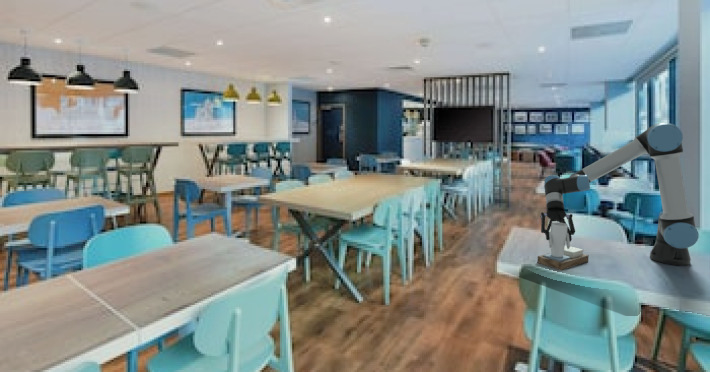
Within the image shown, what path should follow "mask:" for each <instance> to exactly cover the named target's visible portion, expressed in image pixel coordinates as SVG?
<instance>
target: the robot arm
mask: <svg viewBox="0 0 710 372" xmlns="http://www.w3.org/2000/svg"><path fill="white" fill-rule="evenodd" d="M683 139H684V135H683V131H682V130H681V129H680V127H679V126H677V125H675V124H674V123H669V122H663V123H661V122H660V123H656V124H654V125H651V126H650V127H649V128H647V129H646V130H645V131H643V132H642V133H640V134H638V135H636V136H635V137H634V138H633V140H632V141H631V142H629V143H627V144H624V145H623V146H621V147H619V148H618V149H616V150H614V151H612V152H611V153H609V154H608V155H605V156H603V157H602V158H600V159H598V160H595V162H593V163H591V164H590V165H587V166H585V167H584V168H582V169H580V170H578V171H576V172H574V173H572V174H571V175H569V176H568V177H564V178H560V176H559V175H556V174H555V175H554V174H550V175H548V176H546V177H545V178H544V183H543V185H544V186H543V187H544V194H545V195H544V196H545V204H546V205H545V206H546V212H543V211H542V212H541V213H540V219H541V224H540V225H541V228H540V233H542V234H545V240H546V241H548V247H549V248H550V249H551V247H552V237H551V223H553V222H560V223H565V224H567V223H568V229H567V237H566V243H565V246H566V245H567V249H569V248H570V246H571V242H572V240H573V237H572V236H574V235H575V233H576V229H575V225H574V221H573V214H572V213H570V214H568V213H566V212H565V210H566V209H565V204H564V197H563V195H566V194H572V193H579V192H586V191H590V189H591V186H590V183H592V182H593V181H596V180H598V179H599V178H600V177H603V176H605V175H607V174H608V173H611V172H612V171H614V170H616V169H618V168H620V167H623V165H626V164H627V163H629V162H631V161H633V160H635V159H637V158H639V157H640V156H643V155H649V157H650V158H651V159H653V161H654V163H655V170H656V176H657V182H658V188H659V195H660V200H661V207H662V211H660V212H659V215H658V223H657V231H656V239H655V243H654V245H653V247H652V249H651V251H650V253H649V258H650V260H653V261H655V262H659V263H662V264H665V265H666V264H667V265H672V266H689V265H690V264H691V261H692V259H691V255H690V251H689V248H690V247H693V246H694V245H695V244H697V242H698V240H699V237H700V236H699V231H698V229H697V228H696V222H695V218H694V216H695V215H694V214H693V213H691V212H690V211H689V207H688V201H687V197H686V196H687V194H686V190H685V189H686V188H685V183H684V182H685V181H684V177H683V171H682V166H681V164H682V163H681V158H680V156H681V155H682V154H683V153H684V149H683ZM546 217H547V218H548V219H549V221H548V222H549V223H548V225H547V228H546ZM565 218H566V219H567V222H566V219H565Z"/></svg>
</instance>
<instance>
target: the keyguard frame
mask: <svg viewBox="0 0 710 372" xmlns="http://www.w3.org/2000/svg"><path fill="white" fill-rule="evenodd" d="M550 253H551V252H549V253H545V254H541V255H538V256H537V264H541V265H544V266H547V267H551V268H553V269H557V270H559V271H562V270H565V269H569V268H571V267H574V266H578V265H582V264H584V263H588V262H589V254H585V253H583V256H579V257H576V258H570V259H569V260H566V261H563V262H558V261H555V260H552V259H548V258H545V257H544V255H546V254H550Z"/></svg>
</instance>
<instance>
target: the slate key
mask: <svg viewBox="0 0 710 372" xmlns="http://www.w3.org/2000/svg"><path fill="white" fill-rule="evenodd" d="M549 253H550V254H548V253H545V254H546V255H544V254H543V255H544V257H545V258H548V259H552V260H555V261H558V262H563V261H566V260H569V259H570V258H571V257H569V256H565V255H564V256H563V257H554V256H552V255H551V252H549Z"/></svg>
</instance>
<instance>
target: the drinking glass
mask: <svg viewBox="0 0 710 372" xmlns="http://www.w3.org/2000/svg"><path fill="white" fill-rule="evenodd" d="M568 227H569V224H567V223H566V224H565V223H560V222H557V221H555V222H552V223H551V227H550V232H551V237H552V247H551V248H550V253H551V255H552V256H554V257H563V256H564V249H565V246H566V237H567V229H568Z"/></svg>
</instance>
